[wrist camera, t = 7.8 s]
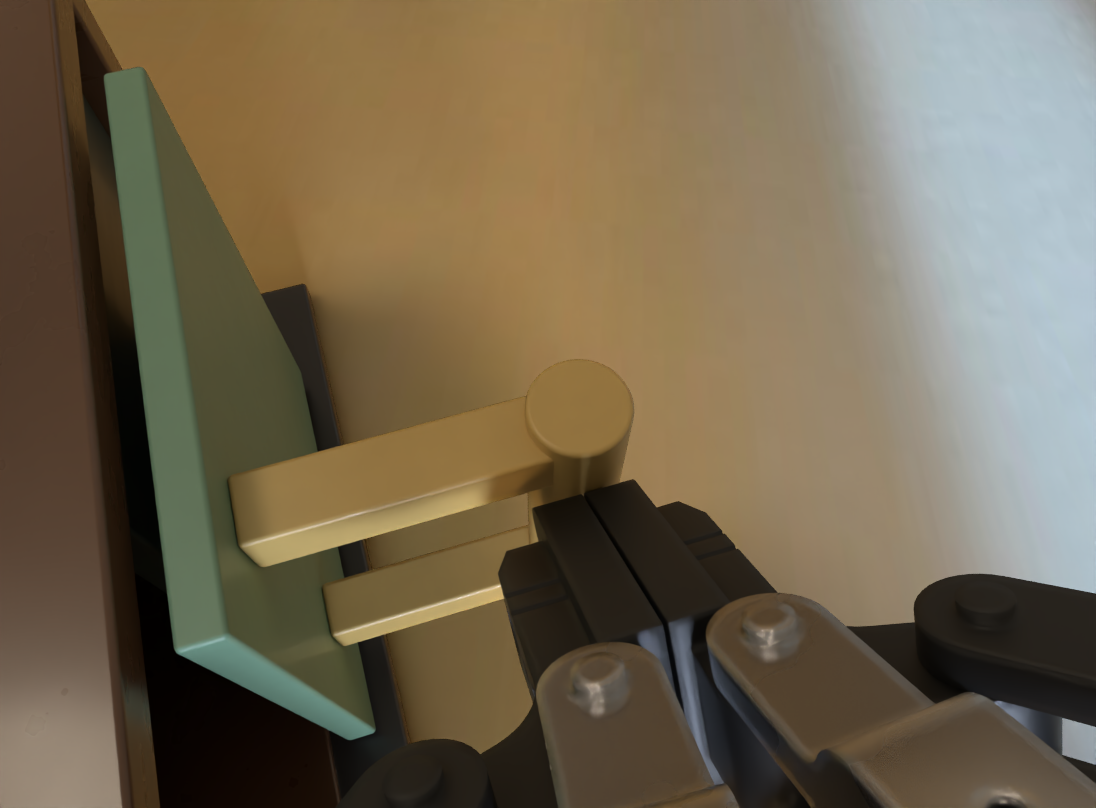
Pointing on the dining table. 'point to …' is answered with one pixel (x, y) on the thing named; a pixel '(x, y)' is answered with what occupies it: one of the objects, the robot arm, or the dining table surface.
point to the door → (308, 456)
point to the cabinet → (116, 491)
